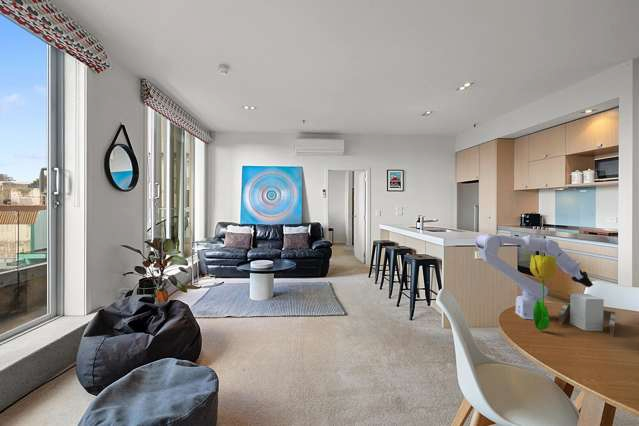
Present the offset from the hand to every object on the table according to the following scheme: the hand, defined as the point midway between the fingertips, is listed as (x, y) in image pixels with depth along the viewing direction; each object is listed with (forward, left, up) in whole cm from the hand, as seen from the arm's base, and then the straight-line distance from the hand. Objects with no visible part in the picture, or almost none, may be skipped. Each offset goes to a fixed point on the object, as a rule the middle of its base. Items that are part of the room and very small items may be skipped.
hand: (586, 281), depth 129 cm
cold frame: (-4, -7, -16) cm, 18 cm away
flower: (-27, -18, -16) cm, 37 cm away
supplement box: (-7, -11, -16) cm, 21 cm away
